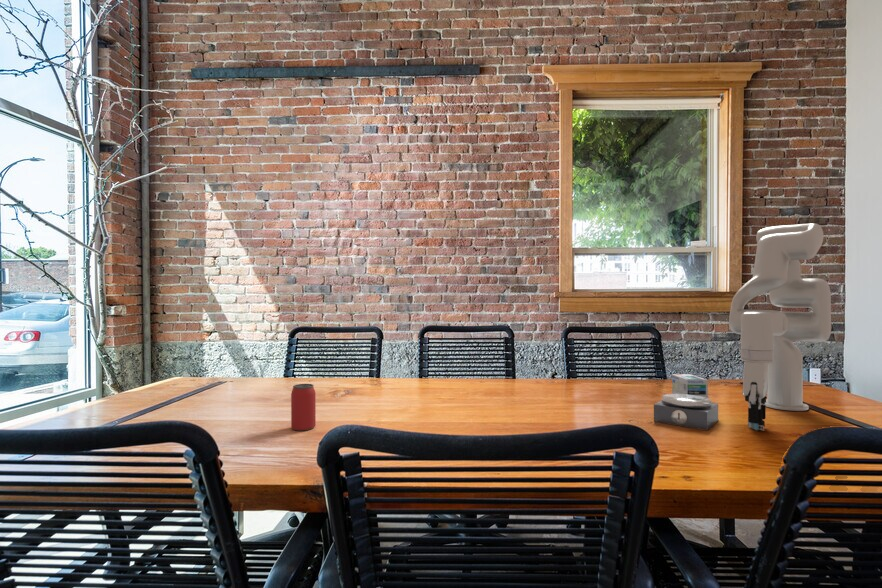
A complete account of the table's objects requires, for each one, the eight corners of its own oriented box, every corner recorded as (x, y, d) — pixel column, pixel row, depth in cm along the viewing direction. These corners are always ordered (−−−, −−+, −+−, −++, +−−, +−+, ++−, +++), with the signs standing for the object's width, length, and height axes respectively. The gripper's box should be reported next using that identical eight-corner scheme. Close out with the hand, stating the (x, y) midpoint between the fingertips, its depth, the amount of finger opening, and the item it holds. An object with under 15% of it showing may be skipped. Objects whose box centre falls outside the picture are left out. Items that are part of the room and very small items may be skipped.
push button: (773, 432, 127) (773, 395, 127) (752, 432, 128) (752, 395, 128) (760, 425, 134) (760, 390, 134) (740, 425, 135) (740, 390, 135)
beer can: (320, 427, 133) (320, 385, 133) (299, 433, 128) (298, 388, 128) (307, 423, 137) (307, 382, 137) (286, 428, 132) (286, 385, 132)
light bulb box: (708, 413, 148) (708, 379, 148) (687, 413, 148) (687, 379, 148) (691, 405, 159) (691, 373, 159) (671, 405, 159) (671, 373, 159)
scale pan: (669, 395, 149) (669, 392, 149) (715, 402, 140) (715, 398, 140) (656, 403, 139) (656, 398, 139) (705, 410, 130) (705, 405, 130)
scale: (667, 412, 149) (668, 396, 149) (718, 420, 140) (718, 403, 140) (653, 421, 138) (653, 404, 138) (706, 430, 129) (706, 412, 129)
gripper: (746, 351, 140) (746, 412, 140) (735, 358, 127) (735, 425, 127) (777, 353, 135) (777, 416, 135) (768, 360, 122) (769, 430, 122)
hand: (756, 420), depth 131 cm, fingers open, 5 cm apart
